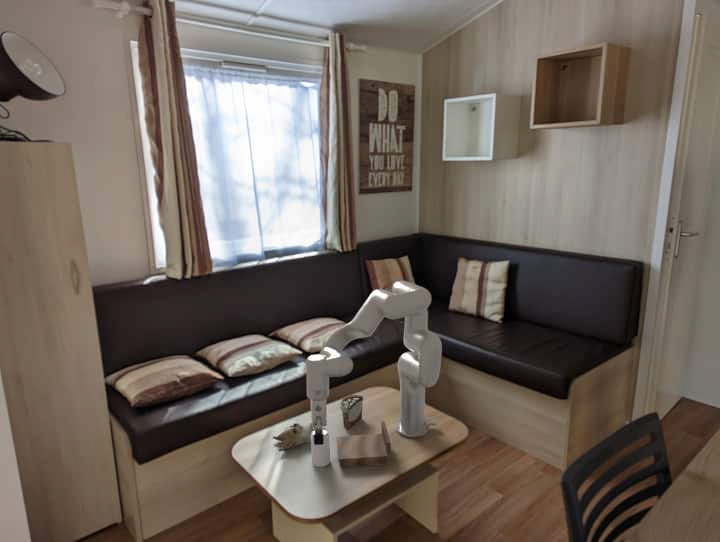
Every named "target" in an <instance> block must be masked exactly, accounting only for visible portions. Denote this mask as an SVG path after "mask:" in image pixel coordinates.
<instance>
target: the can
mask: <svg viewBox="0 0 720 542" xmlns="http://www.w3.org/2000/svg"><path fill="white" fill-rule="evenodd" d="M316 430H317V428H316ZM314 433H315V429H314V428H313V431H312V434H311V442H310V449H311V451H310V452H311V464H312V465H313V466H314V467H317V468H324V467H327V466H328V465H329V464H330V463H331V449H330V447H331V445H330V441H331V440H330V433H329V430H328V428H325V427H323V437H324V444H322V445H314Z"/></svg>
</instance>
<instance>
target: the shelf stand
mask: <svg viewBox="0 0 720 542" xmlns="http://www.w3.org/2000/svg"><path fill="white" fill-rule="evenodd" d="M380 424H381V433H373V434H371V433H370V434H358V435H357V434H356V435H354V434H353V435H343V436H341V435H339V436H336V448H337V456H338V458H337V459H338V463H339V468H340V469H343V468H354V467H355V468H356V467H365V466H367V467H368V466H370V467H371V466H380V465H381V466H382V465H383V466H384V465H387V460H391V459H392V456H391V454H392V453H391V452H392V451H391V450H392V449H391V448H392V447H391V443H392V442H391V439H390V436H389V433H388V428H387V425H386V421H384V420H383V421H381V423H380Z"/></svg>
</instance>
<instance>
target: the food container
mask: <svg viewBox="0 0 720 542" xmlns="http://www.w3.org/2000/svg"><path fill="white" fill-rule="evenodd" d="M363 402H364V397H363V395H360V394H353V395H349V396H345V397H343V398H342V400H341V402H340V405H339V409H340V411H342V412H341V414H342V423H343V427H344V428H345V429H346V430H348V431H351V430H352V429H353V428H354V427H355V426H357V424H358V423H360V422H361V421H362V419H363V404H364V403H363Z"/></svg>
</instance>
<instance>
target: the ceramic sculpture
mask: <svg viewBox="0 0 720 542" xmlns="http://www.w3.org/2000/svg"><path fill="white" fill-rule="evenodd" d="M313 430H314V427H313V425H312V422H311V423H305V424H304V425H301V424H300V423H298V422H297V423H293V424H292V425H289V426H287V427H286V428H285V429H284V430H283V432H282V433H280V434H278V435H277V436H272V439H273V440H277V441H279V442H283V444H282V445H281V447H280V448H279V449H278V451H279V452H288V451H291V450H292V449H293V448H294V447H296V446H299V445H301V444H303V443H306V444H311V434H312V431H313Z"/></svg>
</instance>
